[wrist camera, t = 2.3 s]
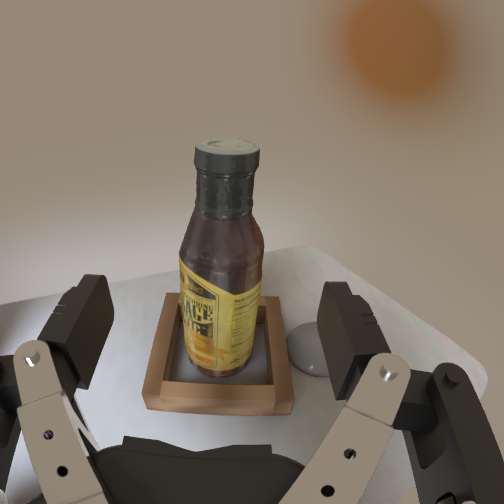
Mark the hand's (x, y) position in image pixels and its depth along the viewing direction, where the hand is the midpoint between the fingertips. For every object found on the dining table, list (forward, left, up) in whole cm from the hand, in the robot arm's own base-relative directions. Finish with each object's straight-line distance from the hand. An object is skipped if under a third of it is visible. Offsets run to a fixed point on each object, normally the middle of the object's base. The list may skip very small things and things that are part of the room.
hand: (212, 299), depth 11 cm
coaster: (+10, +12, -17) cm, 23 cm away
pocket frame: (0, +11, -17) cm, 20 cm away
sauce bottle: (0, +11, -17) cm, 20 cm away
